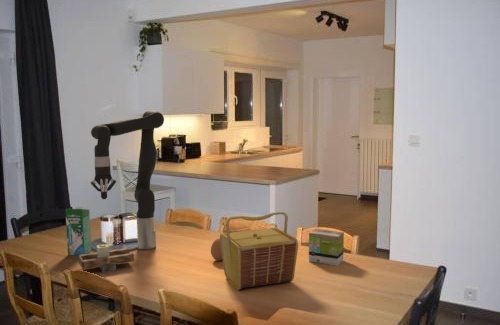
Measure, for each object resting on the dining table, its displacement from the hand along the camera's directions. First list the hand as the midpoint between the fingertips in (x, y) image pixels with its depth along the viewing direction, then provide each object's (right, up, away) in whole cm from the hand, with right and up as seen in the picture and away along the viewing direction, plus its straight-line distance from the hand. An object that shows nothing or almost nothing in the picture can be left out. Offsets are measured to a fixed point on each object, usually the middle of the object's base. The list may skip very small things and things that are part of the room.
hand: (104, 199), depth 245 cm
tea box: (+112, -31, -6) cm, 116 cm away
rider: (+3, -28, -12) cm, 31 cm away
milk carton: (-17, -30, +14) cm, 37 cm away
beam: (+5, -32, -11) cm, 35 cm away
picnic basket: (+78, -34, -31) cm, 90 cm away
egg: (+59, -31, -2) cm, 66 cm away
